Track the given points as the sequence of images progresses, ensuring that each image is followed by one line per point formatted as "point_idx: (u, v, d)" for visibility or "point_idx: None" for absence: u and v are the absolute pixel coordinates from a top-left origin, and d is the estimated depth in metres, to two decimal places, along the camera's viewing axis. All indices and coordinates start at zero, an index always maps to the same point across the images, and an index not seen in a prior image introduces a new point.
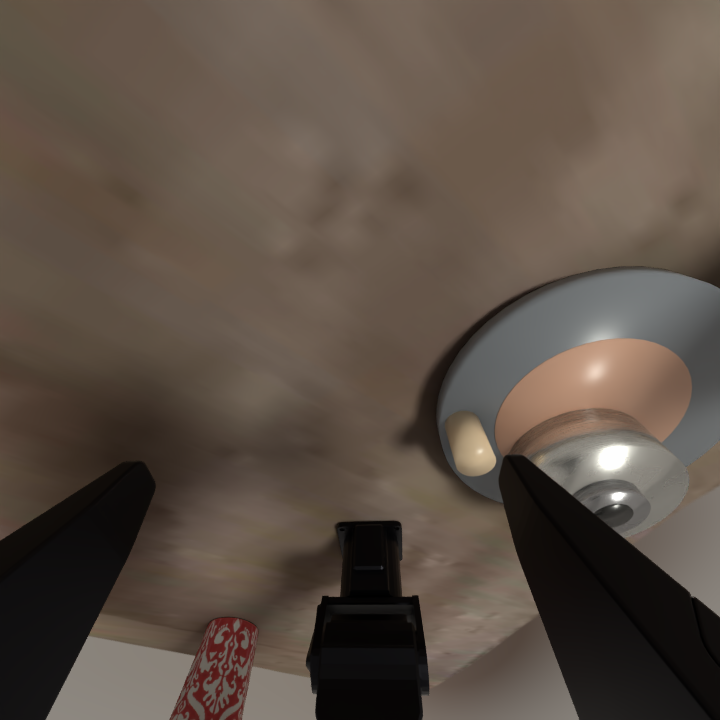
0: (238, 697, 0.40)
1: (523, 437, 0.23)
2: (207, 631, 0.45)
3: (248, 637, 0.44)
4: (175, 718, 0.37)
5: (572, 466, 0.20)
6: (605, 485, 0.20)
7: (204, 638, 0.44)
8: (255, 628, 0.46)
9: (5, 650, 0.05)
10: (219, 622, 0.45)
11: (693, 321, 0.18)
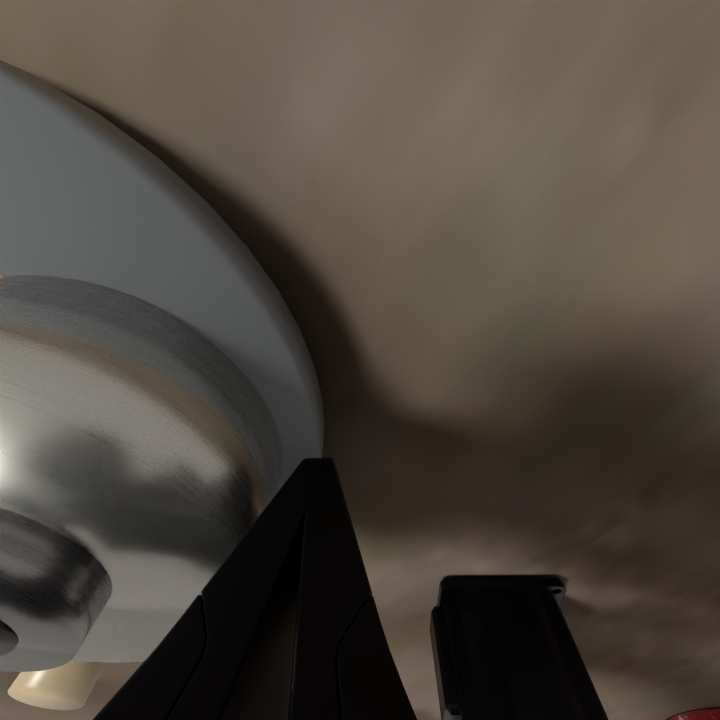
0: None
1: None
2: None
3: None
4: None
5: None
6: None
7: None
8: None
9: (274, 653, 0.05)
10: None
11: None
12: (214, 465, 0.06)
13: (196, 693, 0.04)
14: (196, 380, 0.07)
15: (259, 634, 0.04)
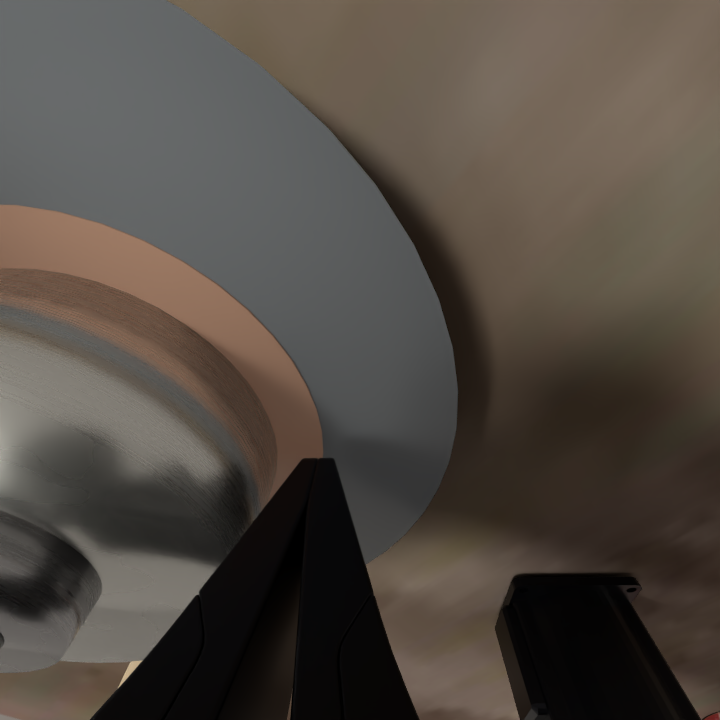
0: None
1: None
2: None
3: None
4: None
5: None
6: None
7: None
8: None
9: (272, 654, 0.05)
10: None
11: None
12: (207, 463, 0.06)
13: (193, 693, 0.04)
14: (190, 377, 0.07)
15: (256, 634, 0.04)
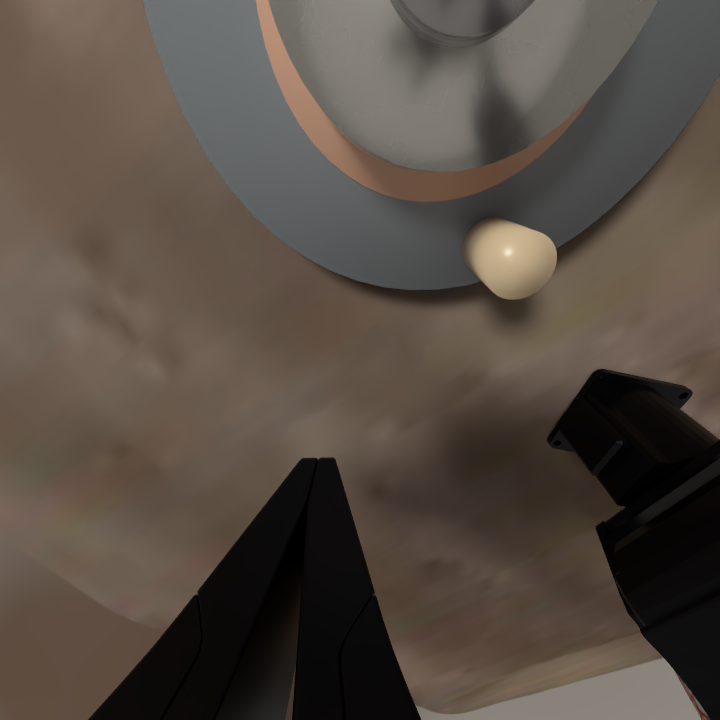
0: None
1: None
2: None
3: None
4: None
5: (366, 120, 0.09)
6: None
7: None
8: None
9: (271, 653, 0.05)
10: None
11: None
12: None
13: (191, 693, 0.04)
14: None
15: (255, 634, 0.04)
